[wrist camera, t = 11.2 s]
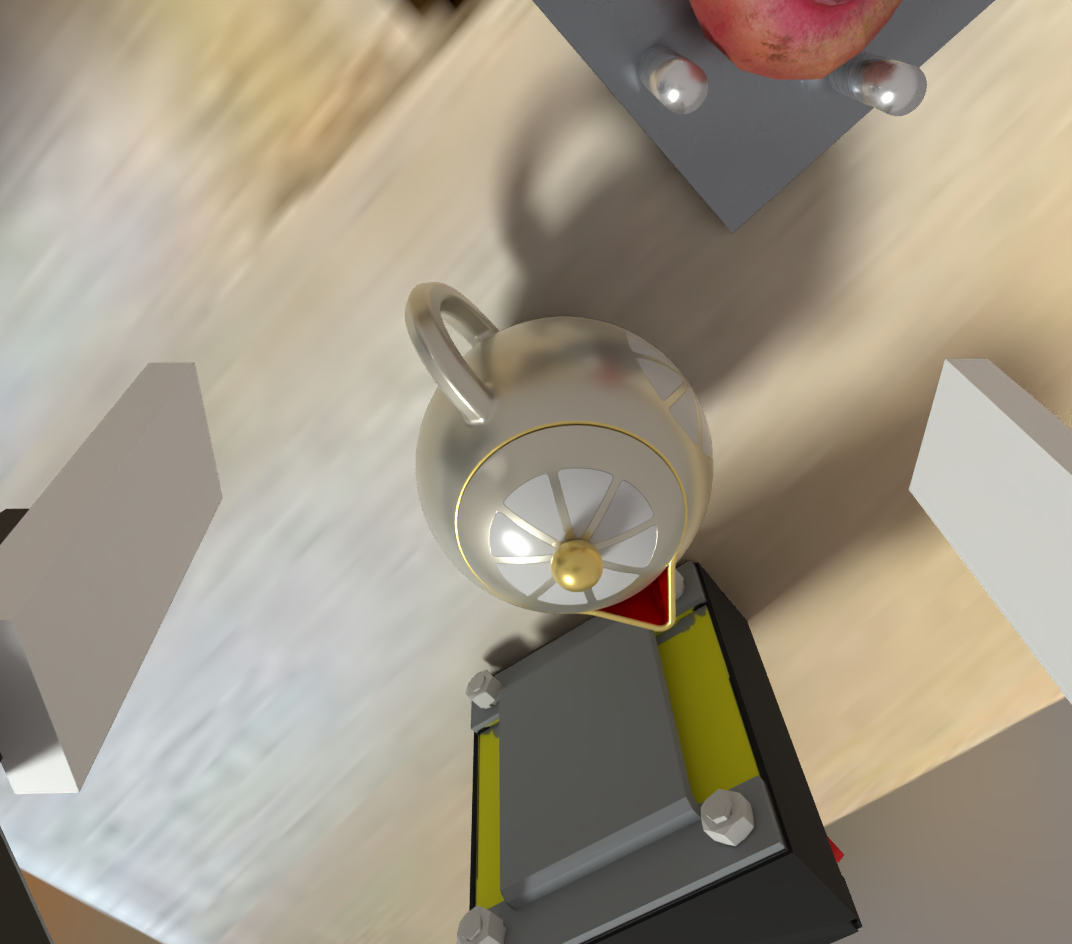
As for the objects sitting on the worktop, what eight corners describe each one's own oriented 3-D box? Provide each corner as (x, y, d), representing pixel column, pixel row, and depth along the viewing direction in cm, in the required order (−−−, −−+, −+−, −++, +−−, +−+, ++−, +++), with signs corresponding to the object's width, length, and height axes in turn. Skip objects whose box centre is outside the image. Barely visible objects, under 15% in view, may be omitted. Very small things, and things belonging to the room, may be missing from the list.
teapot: (732, 417, 48) (830, 610, 34) (538, 543, 52) (554, 763, 38) (534, 149, 41) (554, 259, 27) (323, 322, 45) (245, 496, 31)
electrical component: (679, 539, 53) (768, 826, 36) (761, 638, 57) (876, 936, 40) (454, 674, 58) (437, 983, 40) (546, 756, 62) (565, 1065, 45)
